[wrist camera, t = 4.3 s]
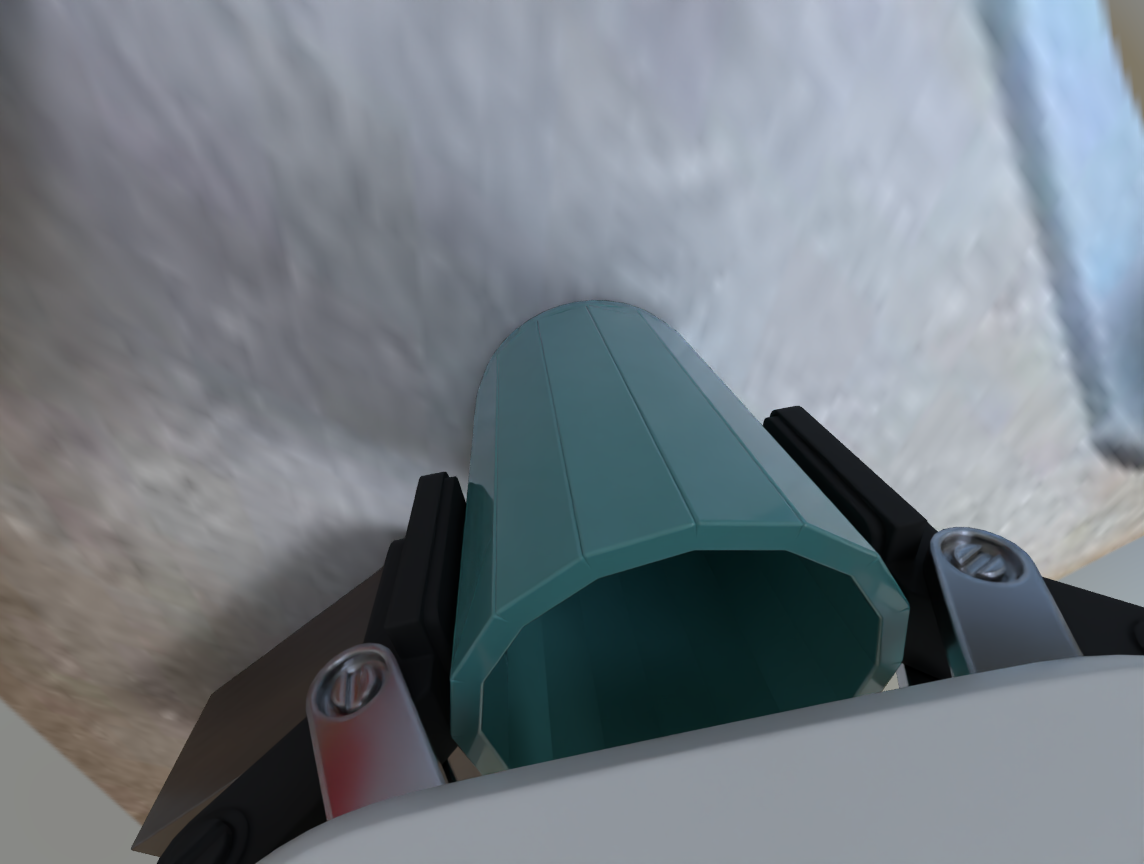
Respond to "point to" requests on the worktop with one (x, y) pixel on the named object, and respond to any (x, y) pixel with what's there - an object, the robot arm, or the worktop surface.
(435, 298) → the worktop surface
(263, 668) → the plate
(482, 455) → the teal cup
